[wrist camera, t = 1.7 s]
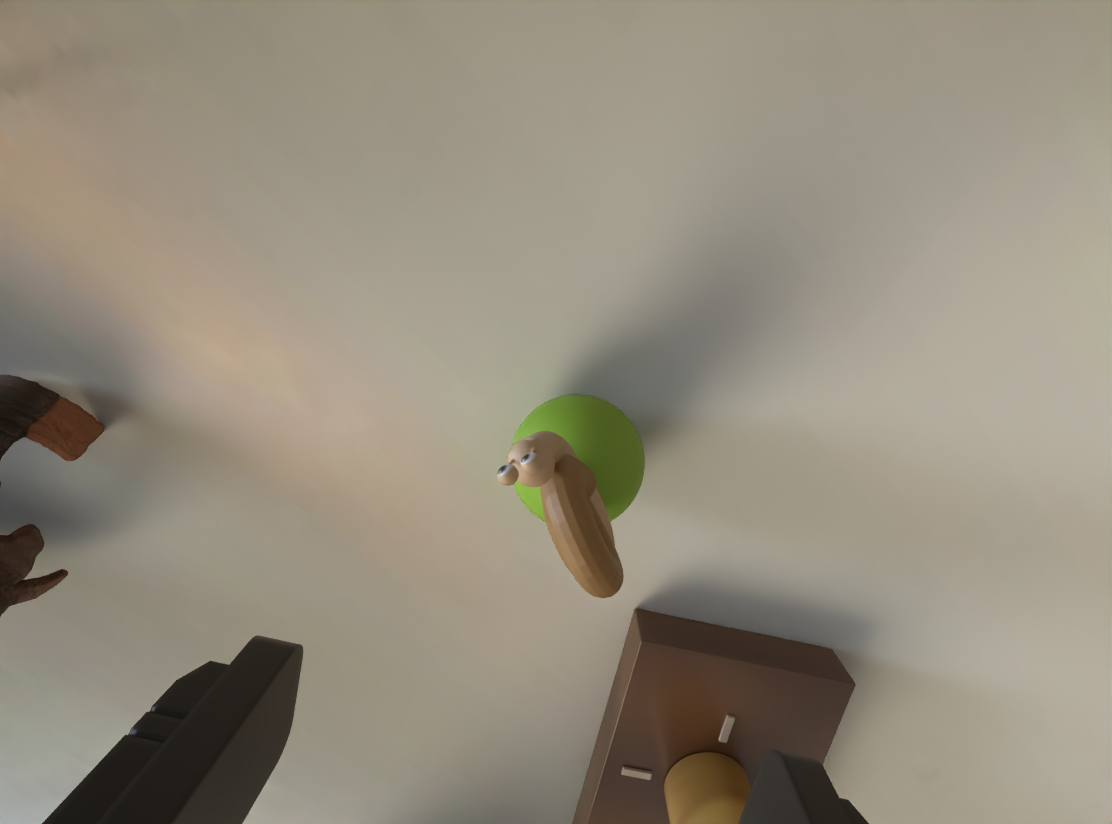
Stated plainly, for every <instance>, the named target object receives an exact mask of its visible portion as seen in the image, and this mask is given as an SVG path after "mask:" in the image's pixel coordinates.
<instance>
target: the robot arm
mask: <svg viewBox="0 0 1112 824" xmlns="http://www.w3.org/2000/svg"><path fill="white" fill-rule="evenodd" d="M302 658H303V647H302V645H300V644H295V643H291V642H286V641H281V640H277V639H272V638H268V637H263V636H255V637H253V638H252V639H251V640H250V641H249V642H248V643H247V645H246V646H245V647H244V648H243V649H242V651H241V652H240V653H239V654H238V655H237V657H236V658H235V659H234V660H233V661H232V662H231V664H230V665H227V664H222V663H218V662H213V661H209V662H208V663H206V664H204V665H202V666H201V667H199V668H197V669H195V670H194V671H192V672H190V673H188V674H187V675H185V676H183V677H181V678H180V679H178V680H176V681H175V682H174V683H173V685H172V686H171V687H170V688H169V689H168V690H167V691H166V692H165V693H164V694H163V695H162V696H161V697H160V698H159V699H158V701H157V702H156V703H155V704H154V705H153V706H152V708H151V710H150V712H146V713H145V714H144V715H143V717H142V718H141V719H140V720H139V721H138V722H137V723H136V724H135V725H134V726H133V727H132V728H131V730H130V733H129V734H128V735H125V736H124V737H123V738H122V739H121V740H120V741H119V742H118V743H117V744H116V745H115V746H114V747H113V749H112V750H111V751H110V752H109V753H108V754H107V755H106V756H105V757H104V758H103V759H102V760H101V761H100V762H99V763H98V765H97V766H96V767H95V768H94V769H93V770H92V771H91V772H90V773H89V774H88V775H87V776H86V777H85V778H84V779H83V781H82V782H81V783H80V784H79V785H78V786H77V787H76V788H75V789H74V790H73V791H72V792H71V793H70V794H69V795H68V797H67V798H66V799H65V800H64V801H63V802H62V803H61V804H60V805H59V806H58V807H57V808H56V809H55V810H54V811H53V813H52V814H51V815H50V816H49V817H48V818H47V819H46V820H45V821H44V822H43V823H42V824H242V823H243V821H244V820H245V818H246V816H247V814H248V813H249V811H250V809H251V807H252V806H253V804H254V802H255V801H256V799H257V797H258V795H259V794H260V792H261V790H262V789H263V787H264V785H265V783H266V782H267V780H268V778H269V776H270V775H271V773H272V771H273V770H274V768H275V766H276V764H277V763H278V761H279V759H280V757H281V754H282V752H283V750H284V747H285V745H286V742H287V739H288V736H289V733H290V730H291V726H292V722H293V716H294V710H295V703H296V697H297V690H298V684H299V678H300V671H301V665H302ZM739 824H869V823H868V822H867V821H866V820H865V819H864V818H863V816H862V815H861V814H860V813H859V812H858V811H857V810H856V808H855V807H854V806H853V805H852V804H851V803H850V802H849V800H846V799H841V798H839V797H838V795H837V793H836V791H835V789H834V787H833V785H832V783H831V781H830V779H829V777H828V775H827V773H826V771H825V769H824V767H823V766H822V764H821V763H820V762H819V761H818V760H817V759H815V758H812V757H807V756H803V755H798V754H793V753H789V752H784V751H780V750H775V749H771V750H769V751H768V752H767V753H766V754H765V756H764V758H763V760H762V763H761V766H760V768H759V771H758V773H757V776H756V778H755V781H754V783H753V786H752V789H751V791H750V794H749V796H748V799H747V801H746V804H745V806H744V809H743V812H742V814H741V817H740V820H739Z"/></svg>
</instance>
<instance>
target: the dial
mask: <svg viewBox="0 0 1112 824" xmlns="http://www.w3.org/2000/svg"><path fill="white" fill-rule="evenodd" d="M750 791H751V786H750V783H749V780H748V777H747V775H746V772H745V771H744V769H743V768H742V767H741V765H740V764H739V763H737V762H736V761H735V760H734V759H732V758H730V757H728V756H726V755H723V754H719V753H713V752H703V753H697V754H693V755H690V756H688V757H685V758H683V759H682V760H680V761H679V762H677V763H676V764H675V765H674V766H673V767H672V768H671V769H670V771H669V773H668V774H667V776H666V779H665V783H664V794H665V799H666V805H667V810H668V816H669V821H670V824H739V820H740V817H741V814H742V812H743V809H744V806H745V804H746V801H747V799H748V796H749V794H750Z"/></svg>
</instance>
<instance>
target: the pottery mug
mask: <svg viewBox="0 0 1112 824" xmlns="http://www.w3.org/2000/svg"><path fill="white" fill-rule="evenodd" d="M103 432H104V427H103V425H102V424H101V423H99V422H98V421H97V420H96V419H95V418H94V417H93V416H92V415H91V414H89V413H88V412H86V411H85V410H83V409H82V408H81V407H80V406H78V405H76V404H74V403H72V402H71V401H69V400H68V399H66V398H63V397H61V396H60V395H59V394H57V393H55V392H53V391H51V390H49V389H47V388H44V387H42V386H41V385H39V384H38V383H36V382H32V381H28V380H25V379H22V378H20V377H16V376H11V375H0V460H1V458H2V456H3V455H4V454H5V452H6V451H7V450H8V449H9V448H10V446H11V445H12V444H13V443H14V442H16V441H18V440H19V439H21V438H23V437H27V438H28V439H30V440H32V441H35V442H38V443H40V444H42V445H43V446H44V447H47V448H49V449H50V450H51V451H53V452H55V453H56V454H58V455H59V456H61V457H62V458H63V459H64V460H66V461H73V460H76V459H78V458H79V457H80V456H81V455H82V454H83V453H85V451H86V450H87V448H88V446H89V445H90V444H91V443H92V442H94V441H95V440H96V439H97V438H98V437H99V436H100V435H101V434H102V433H103ZM0 485H1V482H0ZM43 547H44V541H43V537H42V535H41V533H40V530H39V529H38V528H37V527H36V526H35V525H33V524H28V525H25V526H23V527H21V528H19V529H17V530H16V531H14V532H12V533H11V534H10V535H0V616H1V615H2V614H3V613H4V611H5V610H6V609H7V608H8V607H9V606H11V605H15V604H18V603H22V602H26V601H29V600H32V599H35V598H37V597H39V596H40V595H42V594H43V593H45V592H47V591H48V590H50V589H51V588H53V587H54V586H56V585H57V584H58V583H60V582H61V581H62V580H63V579H64V578H65V577H66V576H67V575H68V571H67V570H64V569H61V570H58V571H56V572H54V573H51V574H49V575H46V576H42V577H39V578H32V579H27V580H23V579H24V578H25V577H26V576H27V574H28V573H29V572H30V571H31V569H32V567H33V564H34V561H35V558H36V556H37V555H38V554H39V553H40V552H41V551H42V549H43Z"/></svg>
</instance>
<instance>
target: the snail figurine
mask: <svg viewBox="0 0 1112 824" xmlns="http://www.w3.org/2000/svg"><path fill="white" fill-rule="evenodd" d="M507 462H508V464H506V465H504V466H502V467H501V468H500V469H499V470H498V473H497V478H498V480H499V482H500V483H501V484H503V485H507V486H508V485H512V484H514V487H515V489H516V492H517V494H518V495H519V497H520V499H521V500H522V502H523V503H524V504H525V505H526V507H527V508H528V509H529V510H530V511H531V512H532V513H533V514H535V515H536V516H537V517H538V518H540V519H541V520H543V521H545V522H546V524H547V527H548V530H549V532H550V535H551V537H552V540H553V542H554V544H555V546H556V548H557V550H558V552H559V554H560V556H561V558H562V560H563V561H564V563H565V565H566V566H567V568H568V569H569V571H570V572H571V573H572V574H573V576H574V577H575V579H576V580H577V582H578V583H579V584H580V585H581V587H582V588H583V589H584V590H585V591H587V592H588V593H589V594H591V595H592V596H595V597H600V598H607V597H611V596H613V595H614V594H615V593H617V592H618V590H619V589H620V587H621V585H622V583H623V569H622V565H621V562H620V559H619V556H618V554H617V551H616V549H615V543H614V536H613V531H612V527H611V523H610V521H612V520H613V519H615V518H616V517H618V516H619V515H620V514H621V513H623V512H624V511H625V510H626V509H627V508H628V506H629V505H630V504H631V503H632V501H633V500H634V498H635V497H636V495H637V493H638V491H639V489H640V486H641V483H642V480H643V475H644V468H645V457H644V450H643V445H642V442H641V439H640V436H639V434H638V432H637V430H636V428H635V427H634V425H633V424H632V422H631V421H630V420H629V418H628V417H627V416H626V415H625V414H624V413H623V412H622V411H621V410H619V409H618V408H617V407H615V406H614V405H612V404H611V403H609V402H607V401H605V400H602V399H600V398H597V397H593V396H588V395H566V396H561V397H557V398H554V399H552V400H549V401H547V402H545V403H543V404H542V405H540V406H539V407H537V408H536V409H535V410H534V411H532V412H531V413H530V414H529V415H528V416H527V417H526V419H525V420H524V421H523V422H522V424H521V425H520V427H519V429H518V431H517V433H516V435H515V437H514V440H513V443H512V447H511V449H510V451H509V453H508V457H507Z"/></svg>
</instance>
